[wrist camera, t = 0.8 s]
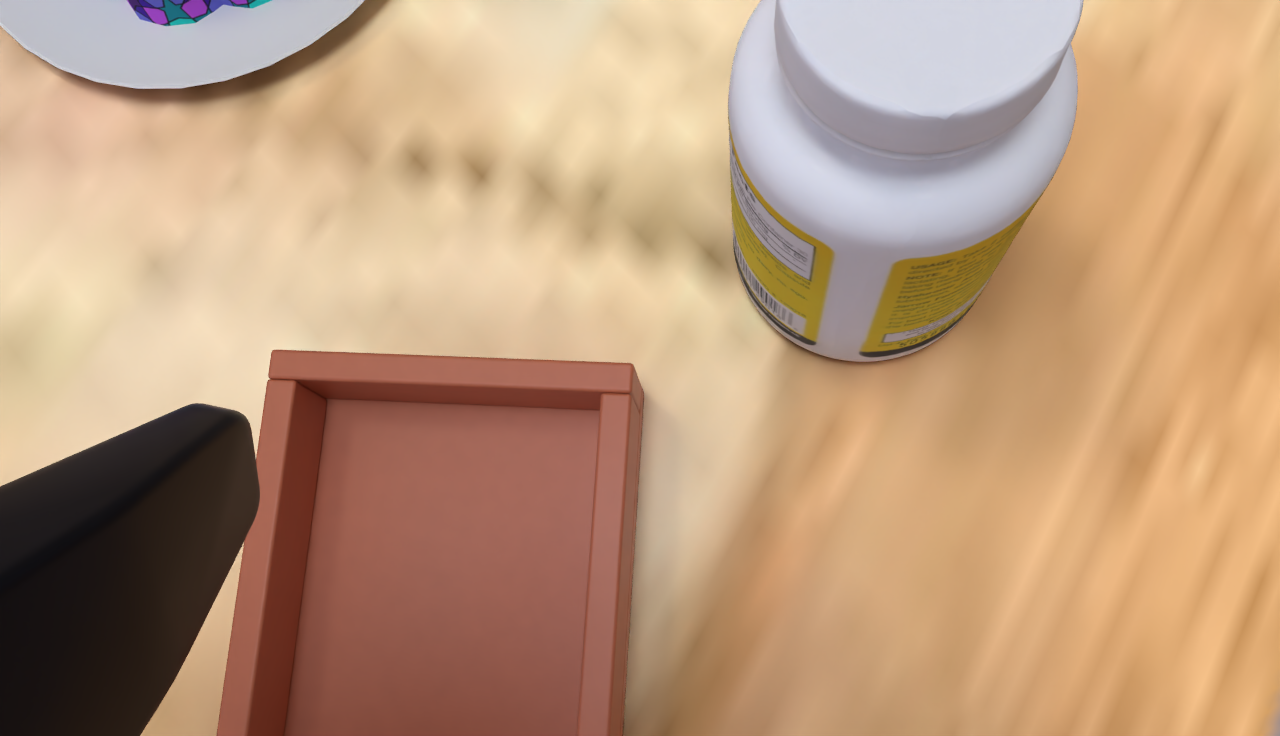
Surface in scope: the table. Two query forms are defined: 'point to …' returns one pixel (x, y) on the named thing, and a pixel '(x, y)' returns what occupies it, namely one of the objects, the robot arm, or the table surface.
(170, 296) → the table surface
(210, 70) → the pudding
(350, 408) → the terracotta tray
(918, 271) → the supplement bottle
